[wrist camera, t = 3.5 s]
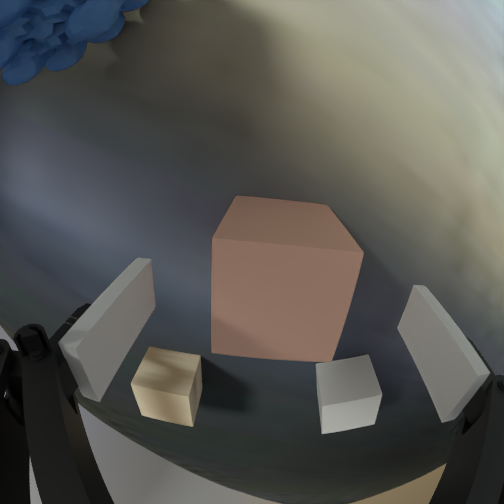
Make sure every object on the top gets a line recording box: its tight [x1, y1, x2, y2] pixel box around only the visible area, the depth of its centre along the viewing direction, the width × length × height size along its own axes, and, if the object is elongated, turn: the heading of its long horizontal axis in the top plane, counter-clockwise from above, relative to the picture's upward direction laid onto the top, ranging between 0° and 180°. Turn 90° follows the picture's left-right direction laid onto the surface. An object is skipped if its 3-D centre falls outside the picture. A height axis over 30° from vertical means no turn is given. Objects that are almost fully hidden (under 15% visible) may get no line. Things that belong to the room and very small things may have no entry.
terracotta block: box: [211, 195, 364, 362], centre depth 15 cm, size 6×6×8 cm
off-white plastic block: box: [316, 354, 382, 434], centre depth 22 cm, size 5×5×5 cm
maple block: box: [131, 347, 203, 427], centre depth 23 cm, size 5×5×5 cm
